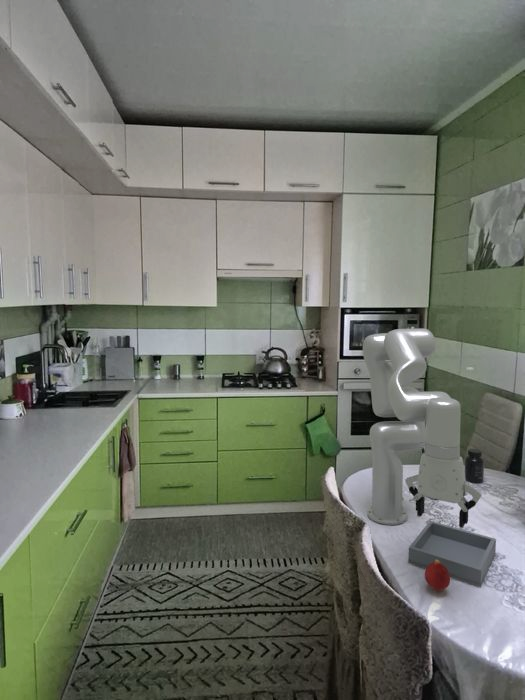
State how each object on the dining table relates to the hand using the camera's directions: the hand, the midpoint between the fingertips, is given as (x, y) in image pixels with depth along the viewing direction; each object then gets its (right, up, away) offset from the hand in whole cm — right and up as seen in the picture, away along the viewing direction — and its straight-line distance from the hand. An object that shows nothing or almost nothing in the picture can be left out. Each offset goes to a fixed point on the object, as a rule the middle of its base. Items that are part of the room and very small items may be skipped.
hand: (441, 519), depth 109 cm
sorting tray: (+9, -17, +16) cm, 25 cm away
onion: (0, -18, +2) cm, 19 cm away
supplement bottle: (+39, -10, +68) cm, 79 cm away
